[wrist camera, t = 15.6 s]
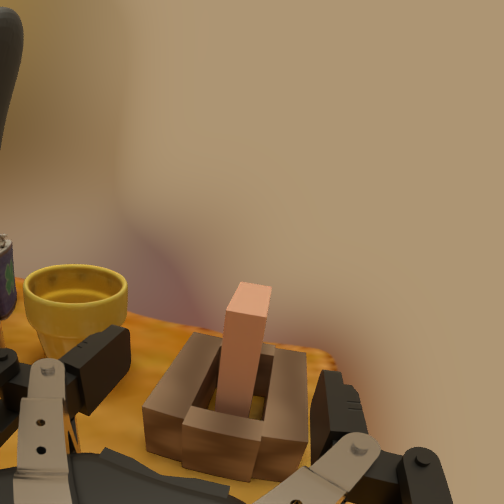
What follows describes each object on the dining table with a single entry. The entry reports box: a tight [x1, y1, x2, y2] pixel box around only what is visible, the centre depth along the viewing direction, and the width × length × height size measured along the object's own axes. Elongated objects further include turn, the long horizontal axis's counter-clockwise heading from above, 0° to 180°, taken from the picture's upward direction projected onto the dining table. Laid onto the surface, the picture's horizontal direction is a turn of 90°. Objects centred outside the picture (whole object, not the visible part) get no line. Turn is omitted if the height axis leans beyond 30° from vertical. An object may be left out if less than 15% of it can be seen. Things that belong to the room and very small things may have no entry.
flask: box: [0, 234, 17, 320], centre depth 32 cm, size 9×3×11 cm, turn 28°
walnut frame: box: [142, 332, 308, 482], centre depth 24 cm, size 11×13×5 cm
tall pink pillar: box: [215, 282, 272, 418], centre depth 23 cm, size 2×6×12 cm, turn 173°
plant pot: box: [23, 264, 128, 360], centre depth 26 cm, size 10×10×10 cm
